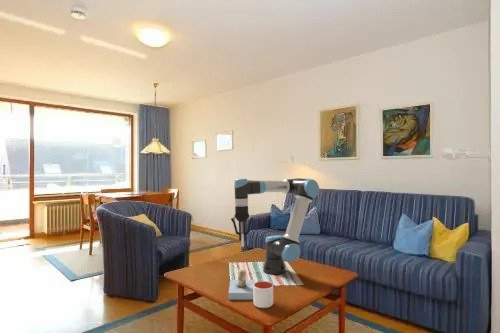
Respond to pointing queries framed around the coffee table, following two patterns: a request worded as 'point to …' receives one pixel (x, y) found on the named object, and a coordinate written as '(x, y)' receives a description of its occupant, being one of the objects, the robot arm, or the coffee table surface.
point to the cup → (263, 294)
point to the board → (240, 290)
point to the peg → (241, 278)
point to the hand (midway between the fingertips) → (242, 246)
